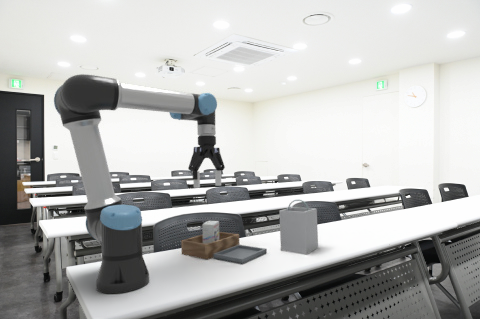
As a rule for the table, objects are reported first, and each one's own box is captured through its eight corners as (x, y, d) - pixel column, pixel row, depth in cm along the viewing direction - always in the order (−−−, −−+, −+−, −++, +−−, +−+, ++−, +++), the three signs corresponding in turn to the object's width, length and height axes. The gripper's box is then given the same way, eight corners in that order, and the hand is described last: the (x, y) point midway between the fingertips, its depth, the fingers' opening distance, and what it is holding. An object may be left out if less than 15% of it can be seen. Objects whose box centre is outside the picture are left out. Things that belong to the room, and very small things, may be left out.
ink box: (208, 248, 138) (207, 220, 138) (220, 248, 137) (219, 220, 137) (202, 253, 129) (201, 224, 129) (214, 253, 128) (213, 224, 128)
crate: (207, 259, 121) (206, 244, 121) (181, 254, 129) (181, 240, 129) (239, 247, 137) (239, 234, 137) (214, 243, 145) (214, 231, 145)
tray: (242, 264, 113) (242, 259, 113) (213, 258, 122) (213, 253, 122) (266, 253, 126) (266, 248, 126) (239, 248, 134) (238, 244, 134)
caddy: (306, 254, 123) (304, 212, 123) (280, 250, 130) (279, 210, 130) (318, 247, 132) (316, 208, 132) (293, 244, 139) (292, 207, 139)
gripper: (192, 132, 122) (193, 189, 122) (231, 136, 143) (233, 184, 142) (178, 134, 127) (179, 188, 126) (218, 138, 147) (219, 184, 146)
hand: (208, 186), depth 134 cm, fingers open, 13 cm apart
